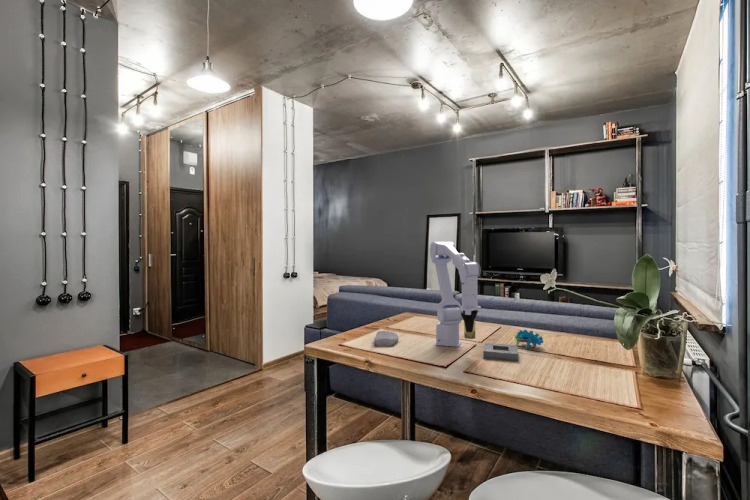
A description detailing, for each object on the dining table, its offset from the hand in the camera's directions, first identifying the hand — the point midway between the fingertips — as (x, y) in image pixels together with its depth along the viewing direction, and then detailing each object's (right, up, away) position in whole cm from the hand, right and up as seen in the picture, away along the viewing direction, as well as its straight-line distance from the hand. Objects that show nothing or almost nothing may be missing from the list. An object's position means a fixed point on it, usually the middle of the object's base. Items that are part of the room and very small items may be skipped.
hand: (469, 330), depth 135 cm
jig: (+12, -9, +1) cm, 15 cm away
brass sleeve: (0, -3, 0) cm, 3 cm away
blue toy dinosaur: (+27, -9, +11) cm, 31 cm away
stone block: (-30, -10, +20) cm, 38 cm away
